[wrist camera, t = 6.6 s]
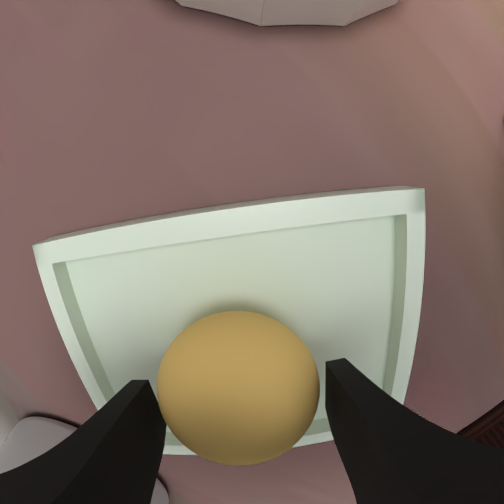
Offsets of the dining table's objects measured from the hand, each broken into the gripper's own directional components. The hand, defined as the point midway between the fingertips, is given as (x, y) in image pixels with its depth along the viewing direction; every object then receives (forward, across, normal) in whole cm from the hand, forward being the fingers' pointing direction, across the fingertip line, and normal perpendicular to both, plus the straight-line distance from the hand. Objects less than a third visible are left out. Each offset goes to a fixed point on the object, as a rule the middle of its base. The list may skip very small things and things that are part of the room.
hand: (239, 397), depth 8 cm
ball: (0, 0, 0) cm, 0 cm away
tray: (+3, 0, 0) cm, 3 cm away
